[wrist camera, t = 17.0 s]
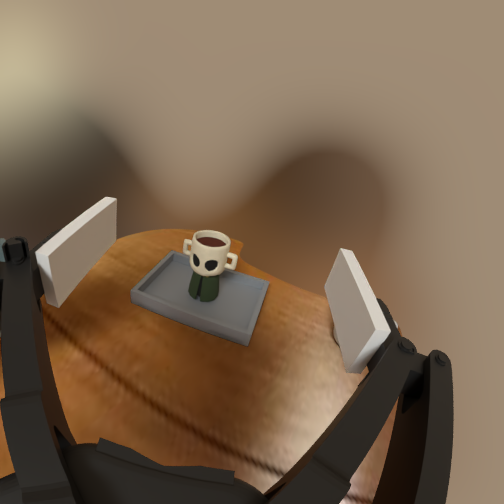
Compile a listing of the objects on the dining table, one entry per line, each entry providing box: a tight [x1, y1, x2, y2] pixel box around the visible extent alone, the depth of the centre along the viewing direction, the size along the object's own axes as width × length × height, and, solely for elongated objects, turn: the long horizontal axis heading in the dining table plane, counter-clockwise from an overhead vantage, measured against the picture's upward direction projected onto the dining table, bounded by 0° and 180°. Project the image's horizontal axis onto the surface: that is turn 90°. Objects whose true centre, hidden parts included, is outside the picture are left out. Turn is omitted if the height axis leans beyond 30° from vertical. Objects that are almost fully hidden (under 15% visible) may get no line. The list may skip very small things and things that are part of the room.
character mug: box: [183, 230, 238, 302], centre depth 55 cm, size 11×7×13 cm, turn 76°
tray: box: [130, 250, 269, 347], centre depth 58 cm, size 24×18×3 cm
